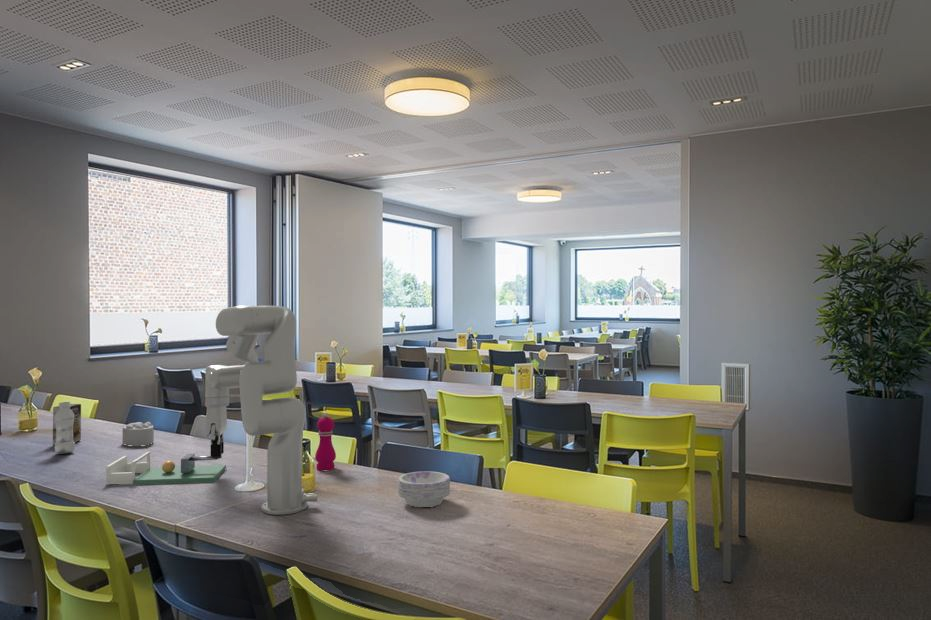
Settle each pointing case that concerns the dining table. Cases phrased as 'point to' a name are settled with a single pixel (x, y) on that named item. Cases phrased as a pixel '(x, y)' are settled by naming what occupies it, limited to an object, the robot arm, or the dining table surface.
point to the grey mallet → (190, 459)
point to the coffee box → (76, 425)
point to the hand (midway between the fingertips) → (217, 454)
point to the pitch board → (180, 475)
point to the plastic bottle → (64, 429)
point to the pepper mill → (325, 444)
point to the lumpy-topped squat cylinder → (138, 434)
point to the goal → (126, 470)
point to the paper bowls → (424, 488)
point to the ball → (168, 466)
